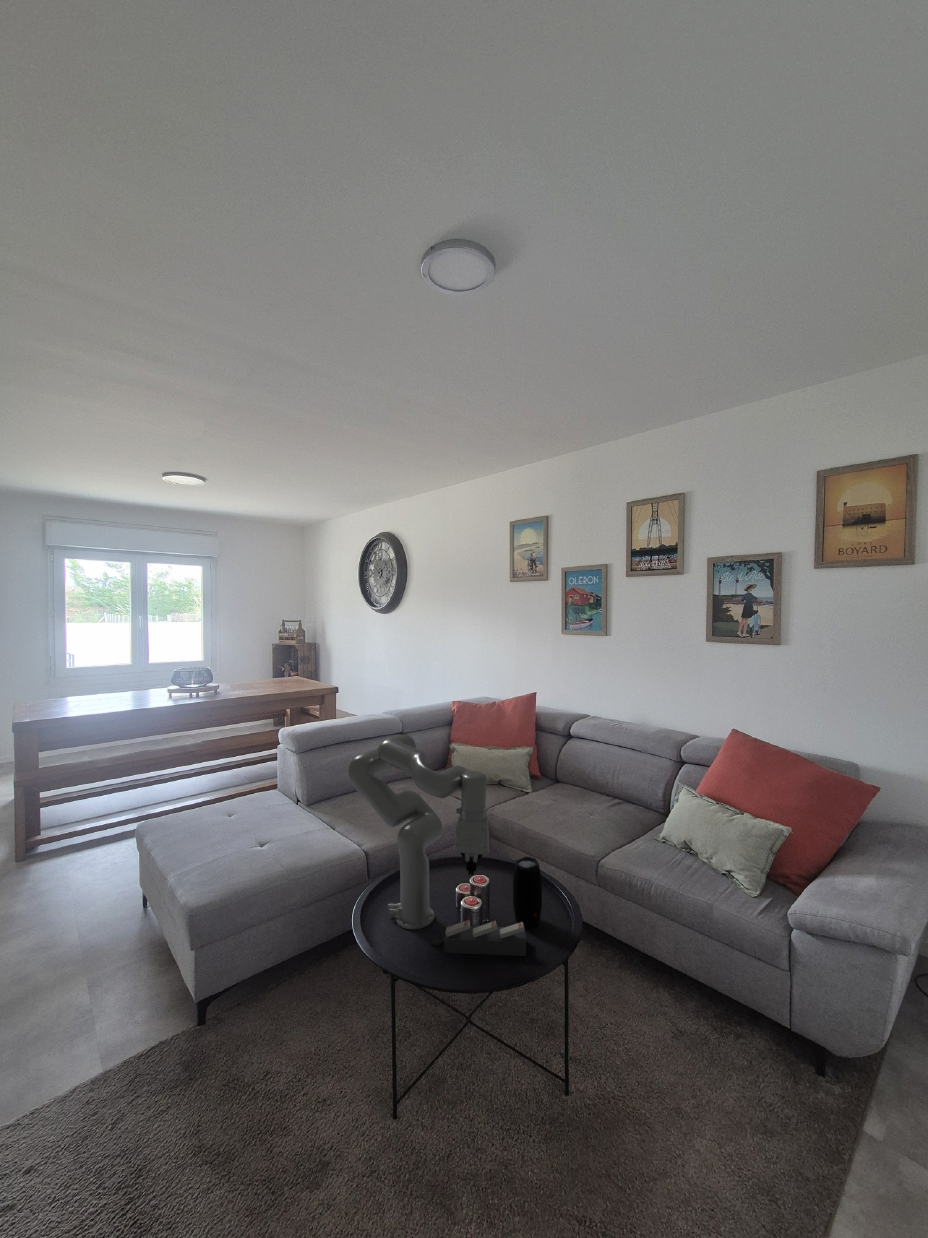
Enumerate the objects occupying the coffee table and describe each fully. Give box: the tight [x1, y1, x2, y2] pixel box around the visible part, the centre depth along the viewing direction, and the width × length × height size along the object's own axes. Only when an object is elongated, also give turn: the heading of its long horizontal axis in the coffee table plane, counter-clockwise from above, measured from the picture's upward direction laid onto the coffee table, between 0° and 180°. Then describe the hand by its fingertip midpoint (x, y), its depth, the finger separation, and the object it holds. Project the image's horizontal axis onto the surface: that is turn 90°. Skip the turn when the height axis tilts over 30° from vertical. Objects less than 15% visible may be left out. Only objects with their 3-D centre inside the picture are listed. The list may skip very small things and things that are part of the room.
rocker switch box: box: [431, 924, 527, 957], centre depth 150 cm, size 28×7×5 cm, turn 86°
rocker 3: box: [500, 922, 524, 938], centre depth 148 cm, size 7×3×1 cm, turn 86°
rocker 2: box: [473, 920, 498, 938], centre depth 148 cm, size 7×3×1 cm, turn 86°
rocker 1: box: [445, 919, 471, 937], centre depth 149 cm, size 7×3×1 cm, turn 86°
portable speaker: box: [512, 856, 543, 930], centre depth 162 cm, size 9×9×20 cm
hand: (471, 872), depth 154 cm, fingers closed
